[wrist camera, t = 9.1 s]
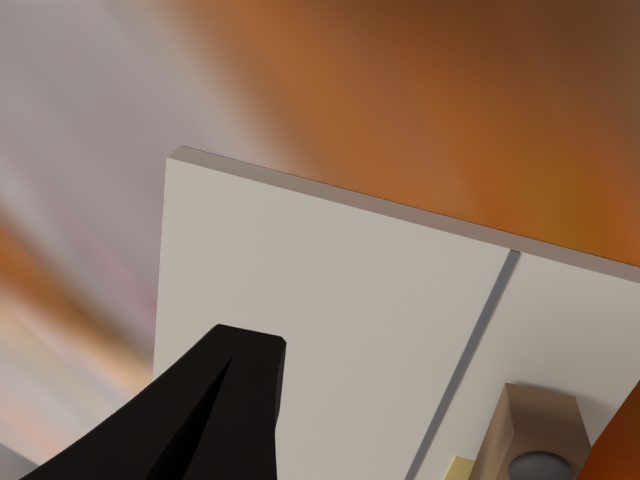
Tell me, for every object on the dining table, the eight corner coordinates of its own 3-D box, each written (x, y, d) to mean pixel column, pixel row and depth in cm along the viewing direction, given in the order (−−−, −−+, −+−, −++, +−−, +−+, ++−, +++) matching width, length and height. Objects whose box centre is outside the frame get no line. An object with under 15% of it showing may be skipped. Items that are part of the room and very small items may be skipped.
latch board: (682, 278, 18) (698, 301, 17) (490, 560, 28) (493, 586, 26) (180, 145, 19) (165, 158, 18) (156, 461, 28) (145, 483, 27)
